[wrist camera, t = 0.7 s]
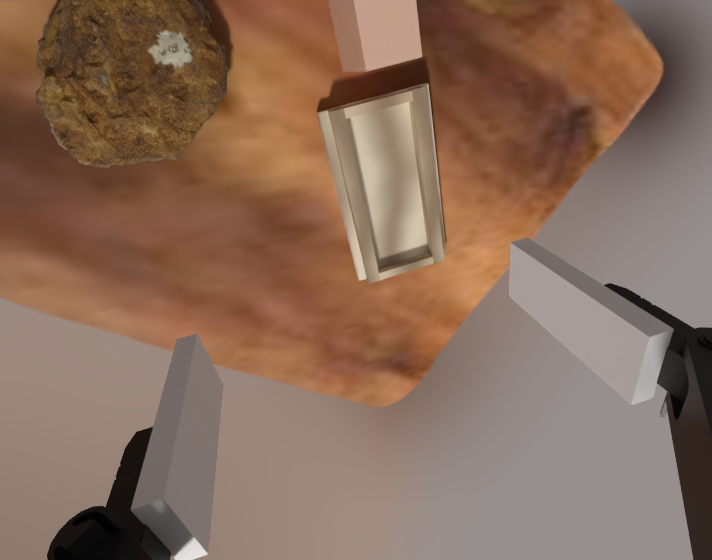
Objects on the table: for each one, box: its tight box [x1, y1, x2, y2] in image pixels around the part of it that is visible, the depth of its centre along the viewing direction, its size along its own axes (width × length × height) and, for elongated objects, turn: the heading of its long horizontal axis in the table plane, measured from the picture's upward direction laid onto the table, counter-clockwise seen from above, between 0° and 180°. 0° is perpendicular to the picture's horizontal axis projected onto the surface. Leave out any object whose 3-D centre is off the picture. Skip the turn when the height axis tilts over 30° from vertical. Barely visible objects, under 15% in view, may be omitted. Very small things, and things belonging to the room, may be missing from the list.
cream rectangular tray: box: [317, 83, 446, 284], centre depth 37 cm, size 10×17×2 cm, turn 12°
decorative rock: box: [36, 0, 230, 168], centre depth 28 cm, size 11×4×15 cm
